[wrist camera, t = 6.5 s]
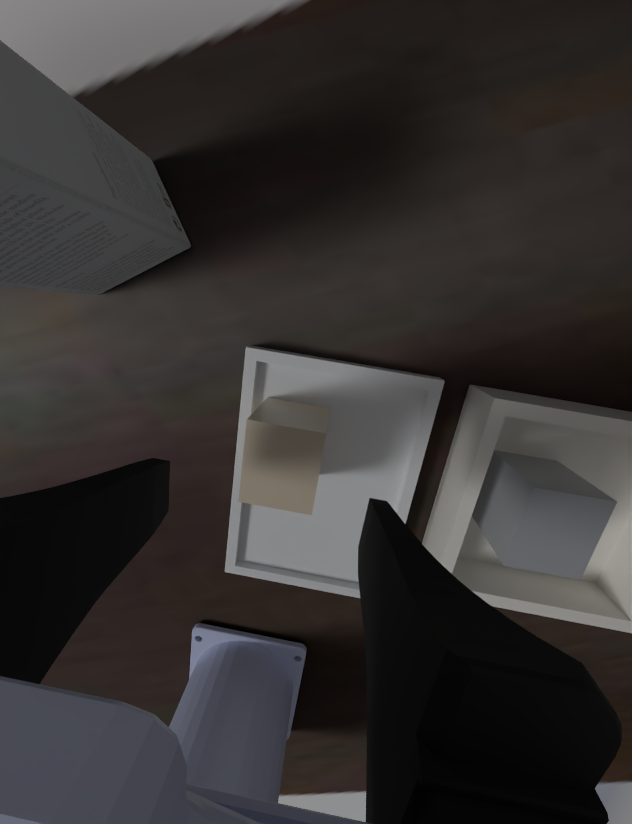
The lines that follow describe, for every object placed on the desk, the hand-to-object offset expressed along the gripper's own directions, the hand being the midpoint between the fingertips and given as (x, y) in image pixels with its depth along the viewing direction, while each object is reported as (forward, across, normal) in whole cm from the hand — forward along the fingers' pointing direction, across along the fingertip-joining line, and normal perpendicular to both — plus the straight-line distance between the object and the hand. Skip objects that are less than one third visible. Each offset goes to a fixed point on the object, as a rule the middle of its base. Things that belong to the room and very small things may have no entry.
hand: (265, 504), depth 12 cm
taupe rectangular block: (+7, 0, 0) cm, 7 cm away
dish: (+7, -14, +1) cm, 16 cm away
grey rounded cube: (+7, -12, +1) cm, 14 cm away
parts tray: (+7, -2, +3) cm, 8 cm away
